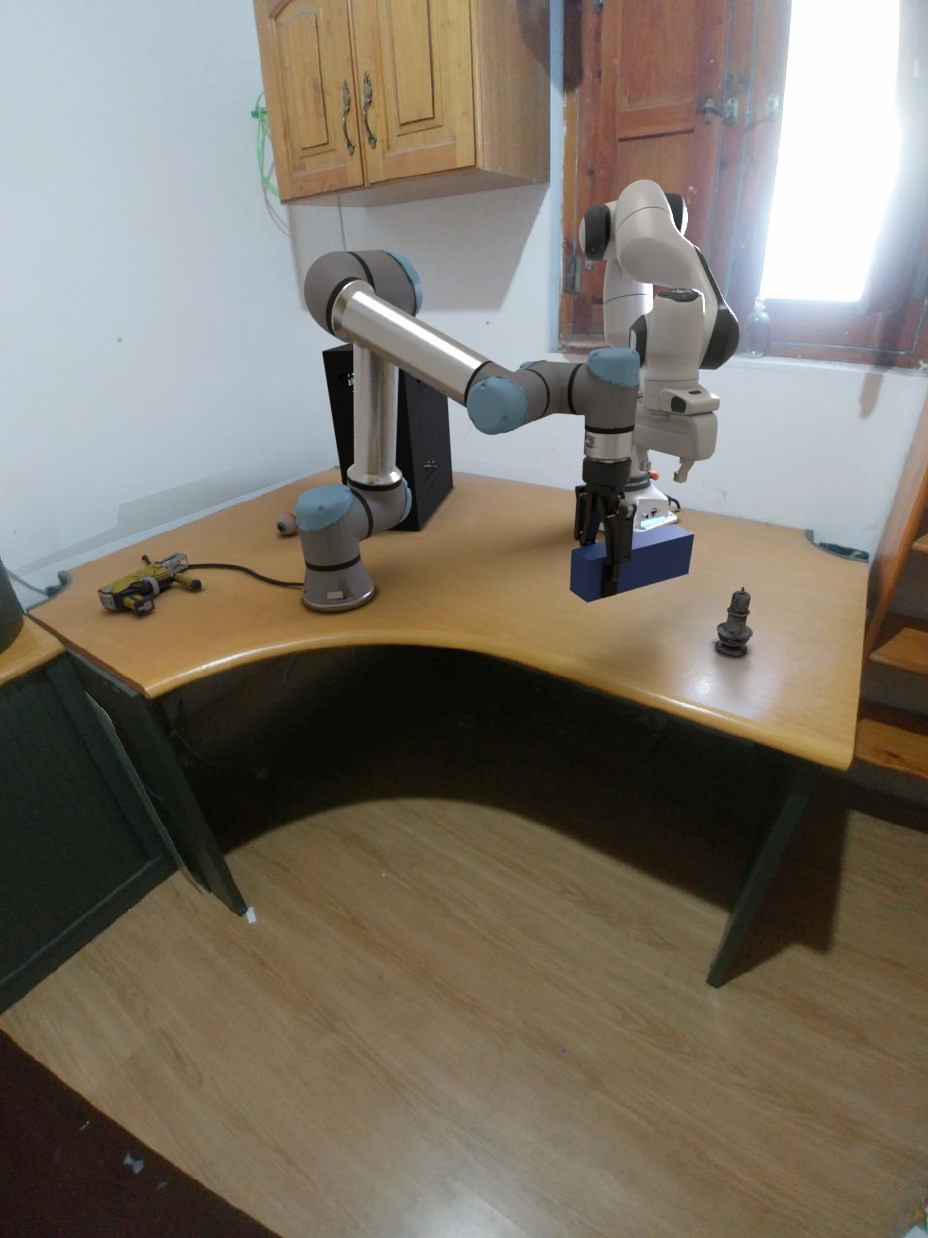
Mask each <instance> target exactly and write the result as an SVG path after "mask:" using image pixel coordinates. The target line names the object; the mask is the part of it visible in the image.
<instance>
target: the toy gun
mask: <svg viewBox="0 0 928 1238" xmlns="http://www.w3.org/2000/svg"><path fill="white" fill-rule="evenodd" d="M185 560H186V563H184V564H186V565H184V564H183V563H181V562H182V561H185ZM151 563H152V564H150V565H148V564H147V565H146V566H144V567H142V568H139V569H136V570H135V571H133V572H131V573H129V574H126V575H125V576H123V577H121V578H119V579H116V580H114V581H112V582H110V583H108V584H106V585H104V586H102V587H100V588H98V590H97V594H98V597H99V603H100V604H101V607H102V608H104V610H106V611H107V610H108V611H109V612H110V611H111V612H112V611H113V610H115V611H119V610H126V609H129V608H130V609H132V610H134V612H135V616H136V617H141V616H143V615H145V614H148V613H150V612H152V611H154V610H156V608H155V604H154V599H153V597H155V596H156V595H159V594H160V590H161V589H163V588H166V587H169V586H171V585H173V583H177V584H179V585H181V586H184V587H187V588H188V589H192V591H195V592H196V591H199V590H200V589H201V588H203V587H202V581H201V580H200V579H197V578H193V577H191V576H188V575H187V574H183V573H182V571H183V570H185V569H188V568H189V567H188V564H189V562H188V556H187V554H186V553H183V552H182V553H180V552H178V551H176V552H175V553H173V554H171V555H168V556H166V557H164V558H162V559H161V560H157V561H154V562H151ZM177 565H180V566H177ZM181 565H183V566H181Z"/></svg>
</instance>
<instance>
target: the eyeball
mask: <svg viewBox="0 0 928 1238" xmlns="http://www.w3.org/2000/svg"><path fill="white" fill-rule="evenodd" d="M275 527H276V529H277V530H278V531H279V532H280V533H281V534H282V535H285V536H286V535H287V536H289V535H293V534H295V533H296V532H297V531H298V527H297V525H296V514H295V513H292V512H287V511H286V512H282V513H280V514H279V515H278V516H277V517H276V520H275Z"/></svg>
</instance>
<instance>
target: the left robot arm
mask: <svg viewBox="0 0 928 1238" xmlns="http://www.w3.org/2000/svg"><path fill="white" fill-rule="evenodd" d="M423 295H424V293H423V285H422V281H421V279H420V276H419V273H418V271H417V270H416V269H415V268H414V266H413V263H412V262H411V261H410V260H409V259H408V258H407V257H406V256H405V255H404V254H402V253H400V252H397V251H391V250H384V249H367V250H365V249H364V250H349V251H348V250H346V251H345V250H337V251H335V250H334V251H330V252H326V253H324V254H323V255H320V256H319V257H317V259H316V260H314V261H313V262H312V264H311V265H310V266H309V268H308V270H307V272H306V274H305V278H304V283H303V297H304V303H305V305H306V308H307V310H308V312H309V314H310V316H311V318H312V319H313V321H314V322H315V323H316V324H317V325H318V326H319V327H320V328H321V329H323V330H324V331H325V332H326V333H328V334H330V335H331V336H333V337H334V338H336V339H338V340H339V341H341V342H343V343H345V344H348V343H353V347H354V373H353V375H354V380H353V382H354V391H353V392H354V464H353V465H352V466H351V467H350V468H349V469H348V470H347V486H346V485H343V484H342V483H327V484H325V485H318V486H315V487H312V488H309V489H308V490H306V491H304V492H302V494H300V495H299V497H297V498H296V501H295V502H294V503H295V504H294V514H295V516H296V525H297V527H298V529H297V531H298V535H299V539H300V546H301V549H302V555H303V560H304V564H305V574H304V581H303V582H295V581H293V582H292V581H282V580H277V579H273V578H270V577H267V576H264V575H261V574H259V573H257V572H255V571H254V570H252V569H250V568H248V567H245V566H242V565H238V564H237V565H236V564H230V563H217V562H216V563H213V562H212V563H210V562H209V563H207V562H206V563H188V568H209V567H212V568H213V567H214V568H229V569H230V568H231V569H237V570H241V571H243V572H247V573H249V574H251V575H252V576H254V577H256V578H258V579H261V580H263V581H266V582H269V583H272V584H276V585H281V586H287V587H289V586H290V587H303V588H302V598H303V602H304V603H303V604H304V605H305V606H306V607H307V608H308V609H310V610H312V611H315V612H319V613H328V614H329V613H330V614H331V613H342V612H347V611H350V610H354V609H356V608H359V607H361V606H364V605H365V604H367V603H368V602H369V601H371V600H372V598H373V597H374V595H375V584H374V581H373V579H372V578H371V576H370V575H369V573H368V571H367V568H366V567H365V564H364V562H363V559H362V556H361V547H360V543H361V542H363V541H365V540H367V539H370V538H372V537H373V536H375V535H378V534H380V533H383V532H385V531H386V530H387V531H388V530H391V529H390V528H393V527H394V526H396V525H397V524H398V523H400V522H401V521H403V520H404V519H405V518H406V517H407V515H408V513H409V511H410V508H411V503H412V496H411V491H410V489H408V488H407V485H408V484H407V482H406V480H405V479H404V478H403V477H402V472H401V471H400V470H399V469H398V468H397V467H396V466H395V460H396V432H397V403H398V374H399V368H400V369H402V370H404V371H405V372H407V373H409V374H410V375H412V376H414V377H415V378H417V379H419V380H420V381H422V382H424V383H425V384H427V385H429V386H430V387H432V388H434V389H435V390H437V391H439V392H440V393H442V394H444V395H445V396H447V397H448V399H451V400H452V401H454V402H456V403H457V404H459V405H460V406H462V407H463V408H465V409H466V411H467V416H468V418H469V420H470V421H471V423H472V424H473V425H474V428H475V429H476V430H478V431H479V432H480V433H482V434H485V435H488V436H496V435H500V434H506V433H510V432H513V431H515V430H517V429H519V428H521V427H523V426H526V425H528V424H531V423H533V422H536V421H539V420H541V419H544V418H546V417H550V416H551V415H556V414H560V415H573V416H583V417H584V438H583V455H584V458H583V459H582V467H581V469H582V470H581V479H582V481H583V484H580V485H576V486H575V487H574V493H575V512H574V513H575V514H574V525H573V528H574V529H573V539H574V541H575V542H579V543H578V544H579V547H583V546H587V545H592V544H596V543H598V540H597V537H598V533H599V531H600V530H599V526H600V523H603V525H604V531H603V534H604V541H605V545H606V554H607V561H604V563H603V577H602V590H601V597H602V599H607V598H610V597H615V596H616V595H618V594H617V585H618V580H619V578H620V568H621V564H623V563H626V562H630V561H631V552H632V538H633V524H634V517H635V514H636V511H637V505H636V504H631V505H630V504H629V503H628V502H627V501H626V500H625V492H624V487H625V485H626V484H627V483H628V482H629V480H630V475H631V464H632V460H631V458H630V456H631V455H632V454H633V445H634V432H635V416H636V407H637V398H638V388H639V386H640V385H639V384H640V380H639V370H640V356H639V354H638V352H637V351H635V350H634V349H630V348H611V347H604V348H602V347H601V348H596V349H593V350H591V351H590V352H589V353H588V356H587V359H586V362H565V361H563V362H562V361H548V360H546V359H541V360H533V361H525V362H523V363H521V364H520V365H519V368H517V369H516V370H515V371H513V370H510V369H507V368H506V367H503V366H502V365H500V364H498V363H497V362H494V361H493V360H491V359H490V358H488V357H486V356H485V355H483V354H481V353H479V352H477V351H476V350H474V349H472V348H470V347H469V346H467V345H465V344H463V343H461V342H460V341H458V340H456V339H454V338H452V337H451V336H450V335H448V334H446V333H444V332H442V331H440V330H438V329H437V328H435V327H433V326H431V325H430V324H428V323H426V322H424V321H423V320H420V319H418V318H417V315H418V314H419V313H420V311H421V308H422V305H423V299H424V298H423V297H424V296H423ZM611 515H614V516H611ZM607 516H611V517H607ZM141 560H144V561H145V562H146V564H147V566H148V565H150V564H152V563H153V562H151V561H150V558H148V556H147V554H143V555H142V556H141ZM186 564H187V563H184V565H186ZM177 566H180V564H179V565H177ZM181 566H183V565H181Z"/></svg>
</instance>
